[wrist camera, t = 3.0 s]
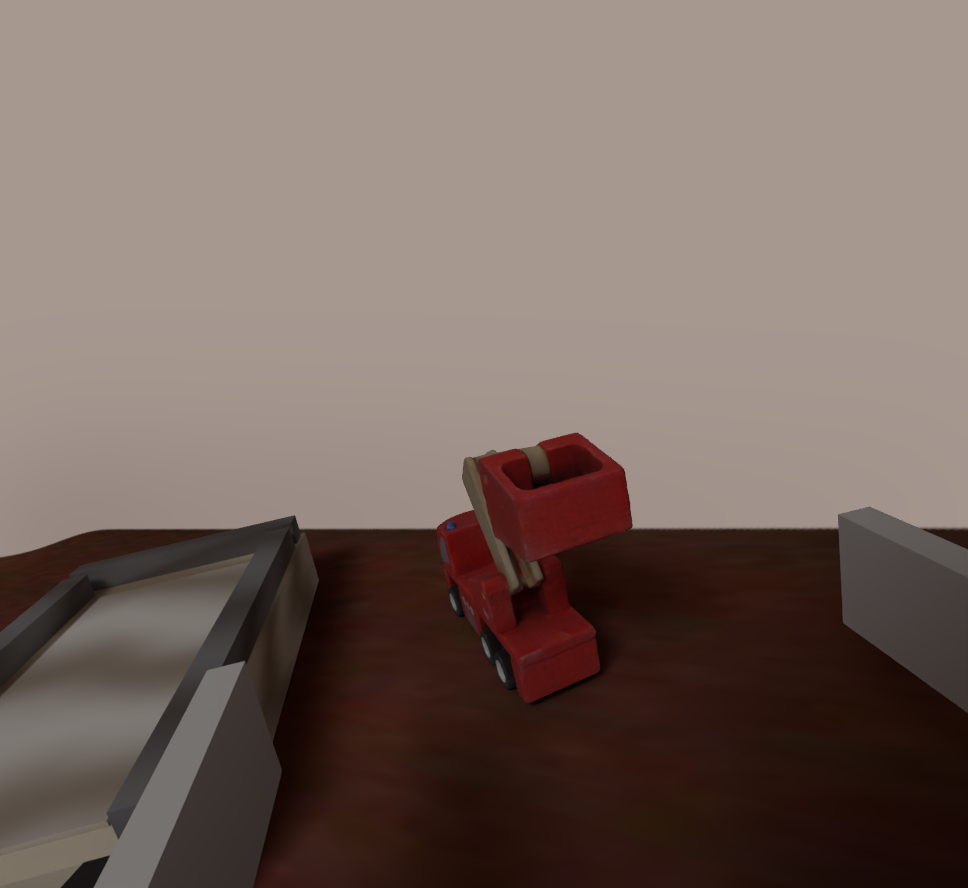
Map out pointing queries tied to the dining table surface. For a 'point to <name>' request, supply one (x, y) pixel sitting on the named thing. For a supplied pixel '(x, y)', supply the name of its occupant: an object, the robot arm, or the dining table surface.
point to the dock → (133, 681)
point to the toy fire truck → (531, 556)
